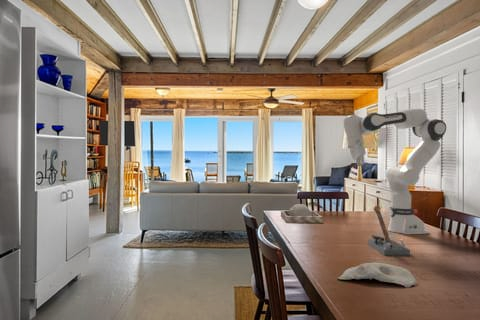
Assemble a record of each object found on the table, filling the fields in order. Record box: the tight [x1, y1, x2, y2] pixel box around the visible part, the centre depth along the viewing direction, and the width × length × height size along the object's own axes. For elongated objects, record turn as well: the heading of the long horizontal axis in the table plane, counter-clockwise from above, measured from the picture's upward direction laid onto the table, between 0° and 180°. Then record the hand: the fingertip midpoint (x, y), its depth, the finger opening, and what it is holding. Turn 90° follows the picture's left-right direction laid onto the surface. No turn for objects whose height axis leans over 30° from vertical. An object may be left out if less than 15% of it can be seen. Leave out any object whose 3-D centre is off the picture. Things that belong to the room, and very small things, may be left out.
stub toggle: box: [400, 239, 407, 249], centre depth 168 cm, size 1×2×4 cm, turn 148°
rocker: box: [371, 234, 385, 241], centre depth 182 cm, size 5×3×1 cm, turn 91°
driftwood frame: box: [280, 210, 323, 224], centre depth 253 cm, size 24×24×4 cm
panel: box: [367, 238, 411, 256], centre depth 176 cm, size 12×20×5 cm, turn 1°
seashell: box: [288, 203, 312, 216], centre depth 253 cm, size 15×14×15 cm
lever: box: [373, 205, 392, 246], centre depth 173 cm, size 3×4×20 cm
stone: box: [337, 262, 418, 288], centre depth 135 cm, size 28×7×15 cm
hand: (361, 165), depth 208 cm, fingers open, 8 cm apart
